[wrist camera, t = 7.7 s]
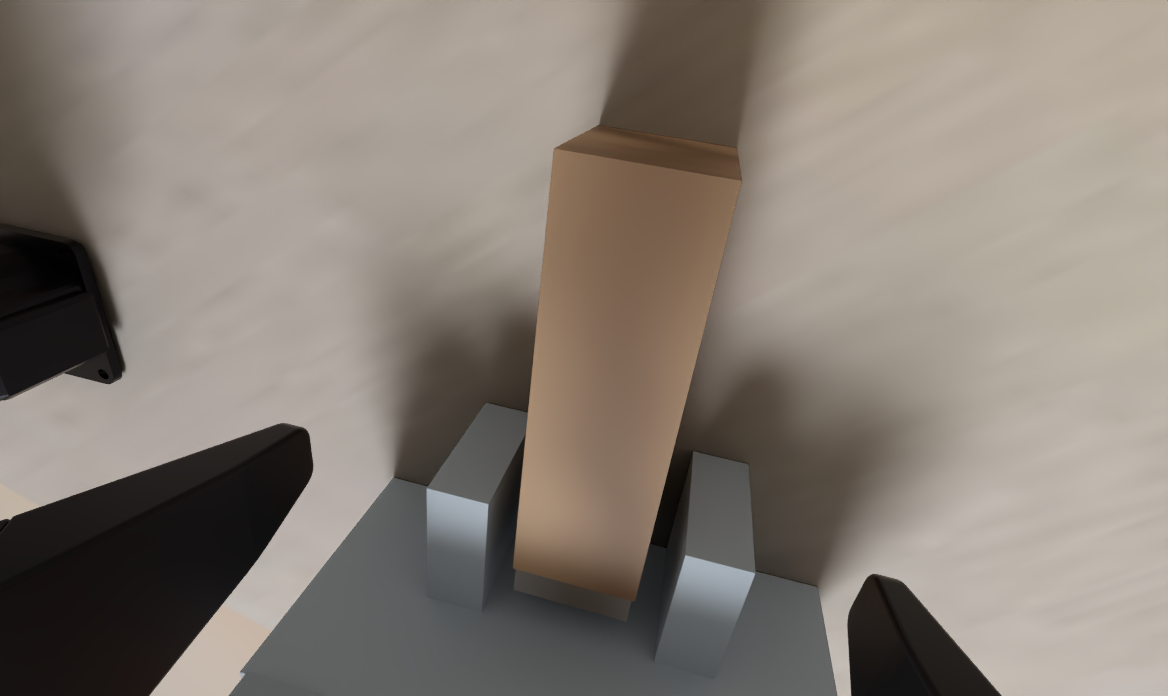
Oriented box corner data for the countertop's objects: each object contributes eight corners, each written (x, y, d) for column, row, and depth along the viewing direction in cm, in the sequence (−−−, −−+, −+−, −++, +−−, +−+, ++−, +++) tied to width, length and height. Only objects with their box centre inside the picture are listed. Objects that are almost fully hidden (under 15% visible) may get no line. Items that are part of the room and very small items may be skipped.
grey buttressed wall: (394, 514, 26) (221, 755, 17) (388, 380, 22) (168, 591, 13) (801, 623, 23) (848, 968, 15) (863, 491, 20) (975, 836, 11)
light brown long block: (550, 489, 23) (510, 589, 19) (598, 125, 17) (554, 148, 12) (647, 514, 23) (629, 622, 18) (736, 148, 16) (741, 180, 12)
